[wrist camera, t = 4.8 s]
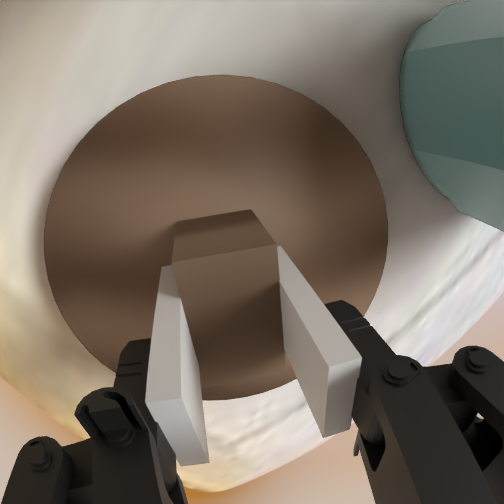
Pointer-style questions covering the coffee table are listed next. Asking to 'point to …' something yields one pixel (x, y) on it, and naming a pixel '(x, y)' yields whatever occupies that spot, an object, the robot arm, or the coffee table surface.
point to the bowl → (459, 105)
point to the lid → (213, 223)
